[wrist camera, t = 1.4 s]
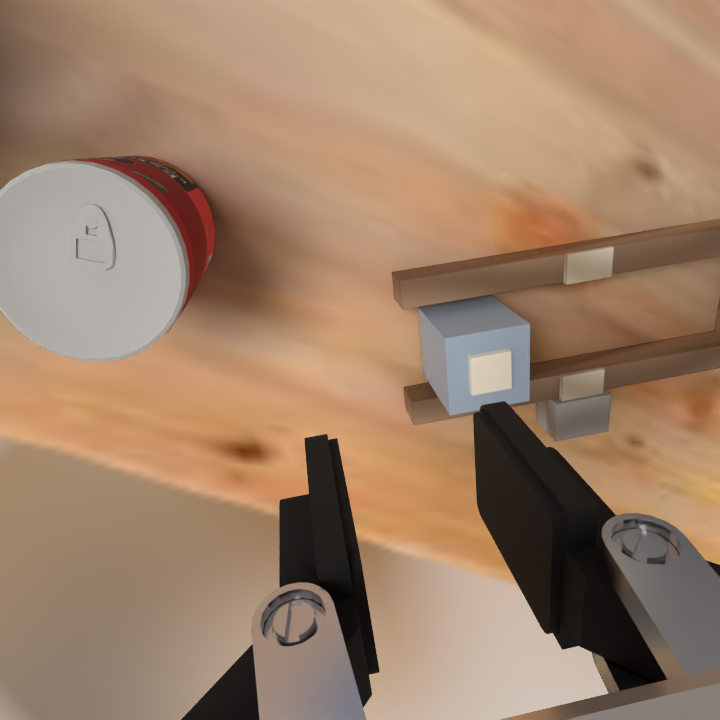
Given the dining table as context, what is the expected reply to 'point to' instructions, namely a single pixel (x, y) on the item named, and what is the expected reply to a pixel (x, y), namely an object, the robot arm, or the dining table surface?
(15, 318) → the canned food
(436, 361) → the block
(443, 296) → the beam slot
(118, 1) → the dining table surface
